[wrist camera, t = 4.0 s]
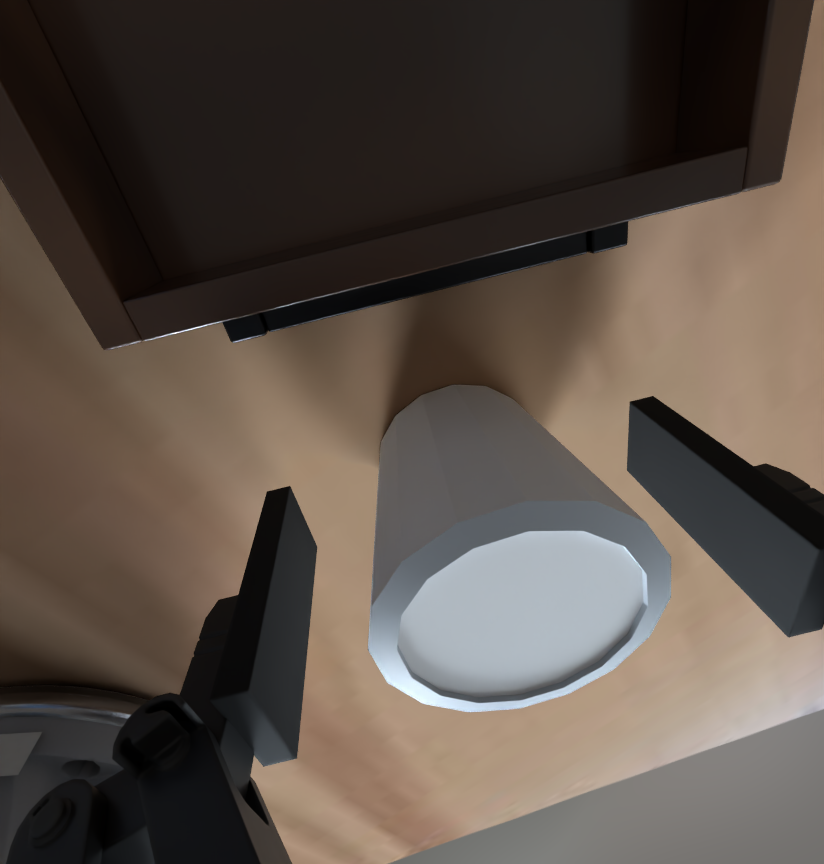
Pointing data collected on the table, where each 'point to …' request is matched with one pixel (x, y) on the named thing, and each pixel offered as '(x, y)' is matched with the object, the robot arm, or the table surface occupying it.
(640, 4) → the tray
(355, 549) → the table surface
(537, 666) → the white cup
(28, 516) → the table surface
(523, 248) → the tray rails
